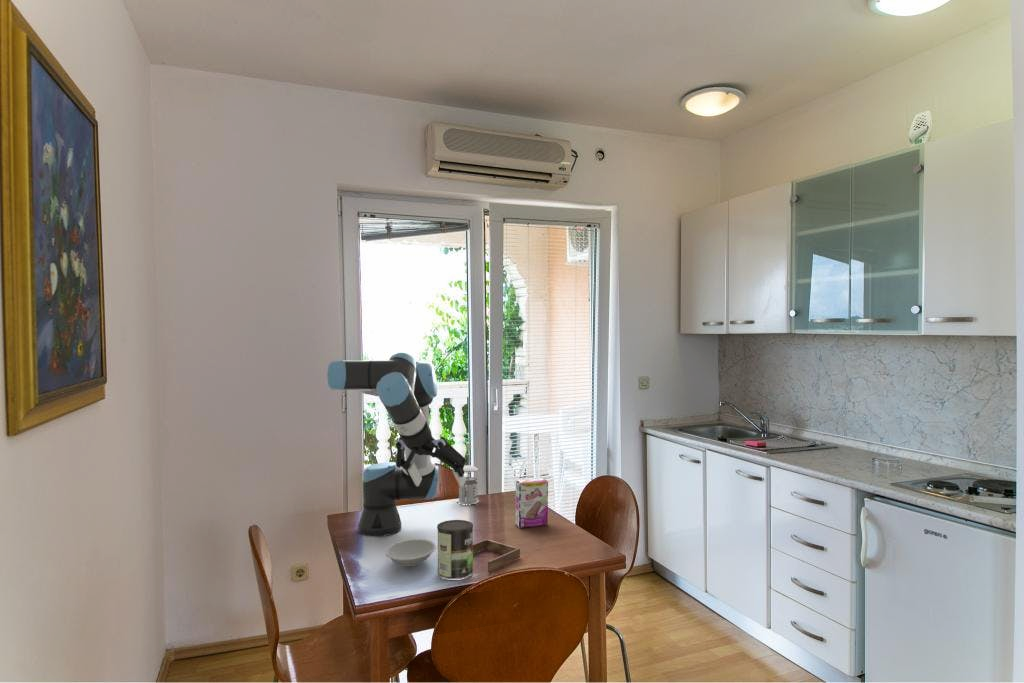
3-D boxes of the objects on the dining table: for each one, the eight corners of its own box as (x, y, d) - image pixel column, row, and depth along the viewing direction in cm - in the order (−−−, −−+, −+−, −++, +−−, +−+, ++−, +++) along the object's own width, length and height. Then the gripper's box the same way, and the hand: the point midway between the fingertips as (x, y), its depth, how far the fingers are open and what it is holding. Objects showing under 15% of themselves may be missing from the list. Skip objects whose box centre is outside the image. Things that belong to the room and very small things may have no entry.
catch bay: (455, 560, 178) (455, 550, 178) (486, 548, 188) (486, 538, 188) (489, 572, 169) (489, 561, 169) (519, 558, 180) (519, 548, 180)
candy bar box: (519, 529, 208) (519, 483, 208) (515, 524, 213) (514, 479, 213) (548, 525, 211) (548, 480, 211) (543, 521, 216) (543, 477, 216)
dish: (400, 553, 184) (400, 537, 185) (443, 556, 182) (443, 540, 182) (375, 574, 167) (375, 557, 167) (423, 579, 164) (423, 561, 164)
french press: (483, 499, 247) (482, 440, 247) (475, 507, 235) (474, 445, 236) (460, 498, 249) (460, 439, 249) (452, 505, 238) (451, 444, 238)
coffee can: (477, 568, 172) (477, 520, 172) (467, 582, 162) (467, 531, 162) (443, 565, 174) (443, 518, 174) (432, 579, 164) (432, 529, 164)
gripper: (364, 438, 150) (396, 492, 161) (451, 437, 141) (477, 495, 152) (377, 417, 156) (407, 471, 167) (461, 415, 146) (486, 472, 158)
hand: (440, 483), depth 159 cm, fingers open, 13 cm apart
